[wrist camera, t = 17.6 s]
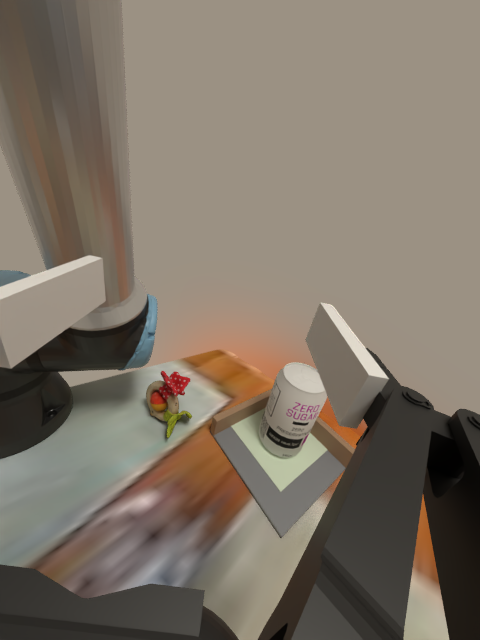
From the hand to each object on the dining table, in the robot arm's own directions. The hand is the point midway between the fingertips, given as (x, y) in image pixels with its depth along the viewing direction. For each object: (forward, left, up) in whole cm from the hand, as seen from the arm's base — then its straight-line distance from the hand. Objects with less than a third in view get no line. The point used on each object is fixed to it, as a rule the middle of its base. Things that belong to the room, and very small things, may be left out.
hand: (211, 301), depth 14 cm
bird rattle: (-16, +5, -32) cm, 37 cm away
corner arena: (-1, +20, -32) cm, 38 cm away
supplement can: (-3, +22, -32) cm, 38 cm away
